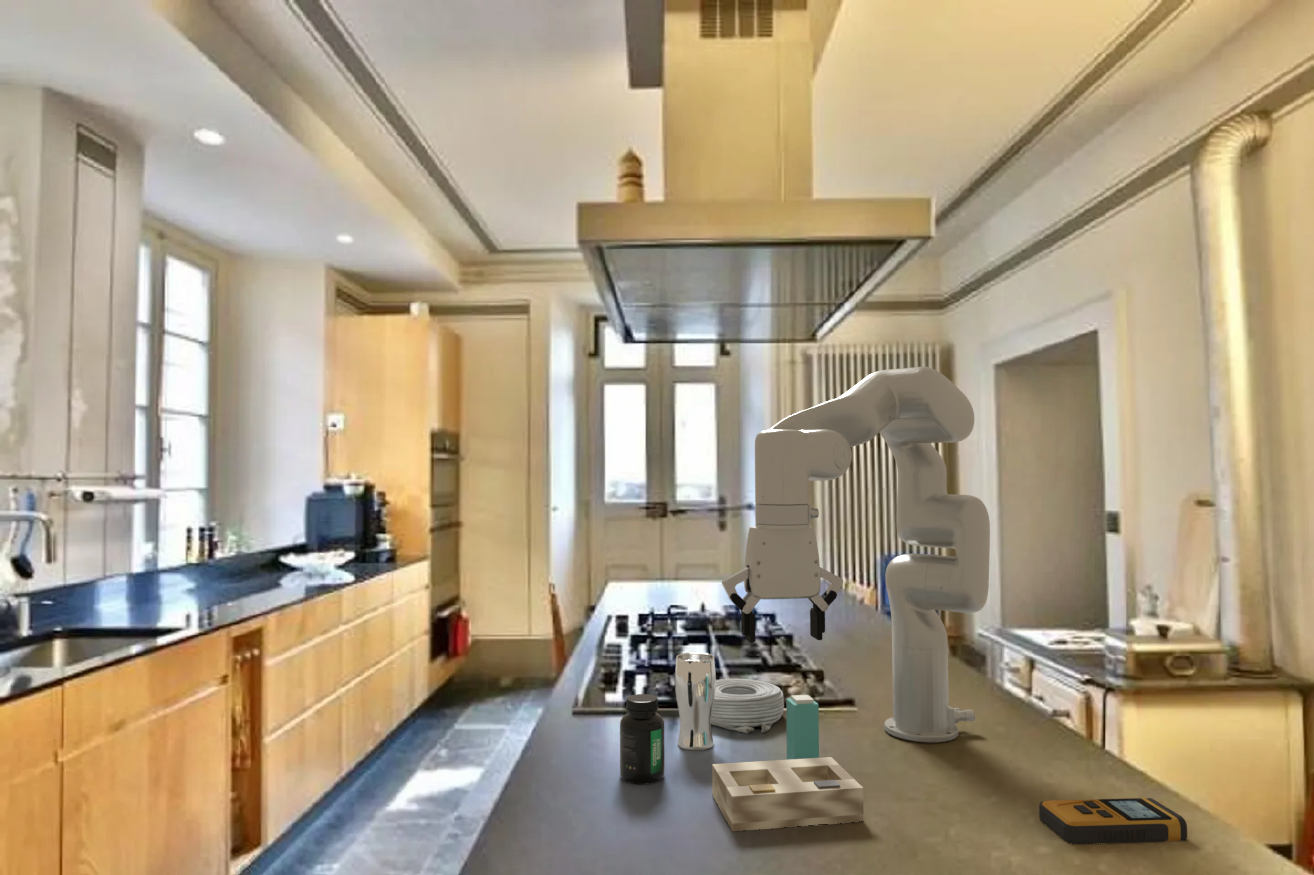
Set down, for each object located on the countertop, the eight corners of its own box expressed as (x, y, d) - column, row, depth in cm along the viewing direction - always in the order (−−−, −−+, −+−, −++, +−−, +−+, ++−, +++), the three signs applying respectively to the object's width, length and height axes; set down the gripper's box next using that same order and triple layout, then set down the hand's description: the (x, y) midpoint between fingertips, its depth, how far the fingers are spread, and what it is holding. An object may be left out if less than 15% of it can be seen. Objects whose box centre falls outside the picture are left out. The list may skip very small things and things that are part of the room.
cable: (764, 738, 147) (764, 703, 147) (676, 724, 155) (675, 691, 155) (796, 712, 162) (796, 681, 162) (714, 701, 170) (714, 671, 170)
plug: (810, 759, 135) (809, 693, 136) (819, 768, 131) (818, 700, 132) (786, 760, 135) (786, 694, 135) (794, 769, 131) (794, 701, 131)
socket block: (831, 787, 123) (831, 754, 123) (863, 821, 111) (863, 785, 112) (712, 795, 120) (712, 762, 121) (732, 831, 109) (732, 794, 109)
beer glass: (713, 753, 138) (712, 662, 139) (672, 750, 140) (671, 660, 140) (718, 739, 145) (717, 652, 146) (679, 737, 147) (678, 651, 147)
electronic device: (1035, 822, 112) (1034, 797, 113) (1147, 818, 113) (1146, 792, 114) (1069, 850, 104) (1068, 823, 104) (1190, 845, 105) (1189, 818, 105)
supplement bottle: (668, 783, 125) (667, 703, 126) (623, 786, 124) (622, 705, 125) (660, 767, 132) (660, 691, 132) (617, 770, 131) (617, 693, 131)
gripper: (831, 514, 122) (832, 632, 122) (716, 516, 120) (717, 636, 119) (850, 517, 115) (852, 642, 114) (728, 519, 112) (729, 647, 112)
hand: (783, 639), depth 117 cm, fingers open, 9 cm apart
